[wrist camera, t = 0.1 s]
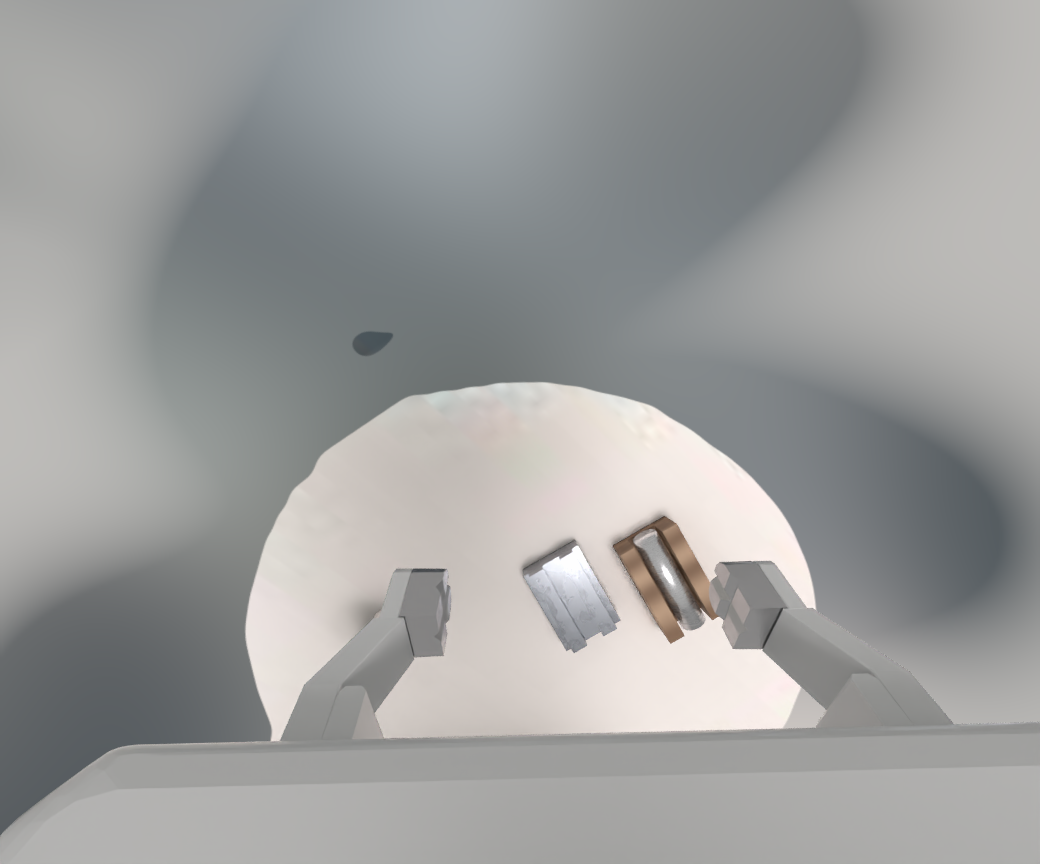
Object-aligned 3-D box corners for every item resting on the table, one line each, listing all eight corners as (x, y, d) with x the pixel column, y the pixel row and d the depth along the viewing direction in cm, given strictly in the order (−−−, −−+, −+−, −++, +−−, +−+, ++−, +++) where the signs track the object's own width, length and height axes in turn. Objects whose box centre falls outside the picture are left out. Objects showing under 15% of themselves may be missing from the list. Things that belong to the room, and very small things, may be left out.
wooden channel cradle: (710, 597, 67) (726, 612, 62) (659, 627, 67) (670, 643, 62) (664, 516, 67) (676, 523, 62) (612, 545, 67) (620, 555, 62)
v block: (616, 611, 67) (623, 625, 63) (564, 640, 67) (567, 656, 63) (575, 539, 67) (579, 548, 62) (523, 569, 67) (523, 580, 62)
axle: (697, 609, 66) (709, 621, 62) (677, 621, 66) (687, 634, 62) (650, 526, 66) (659, 533, 62) (629, 538, 66) (637, 546, 62)
